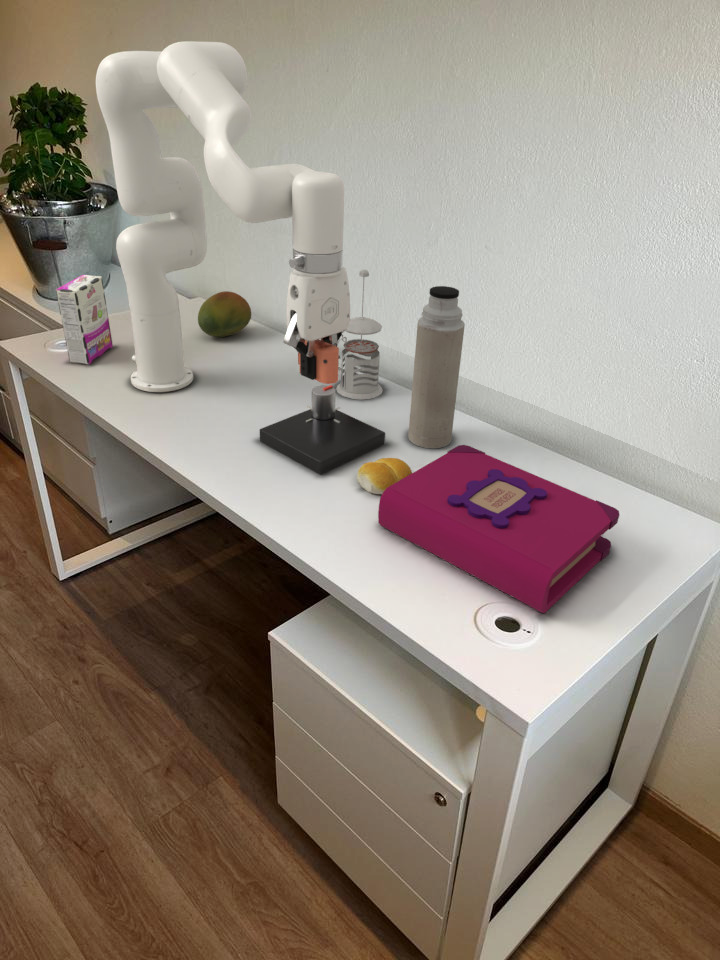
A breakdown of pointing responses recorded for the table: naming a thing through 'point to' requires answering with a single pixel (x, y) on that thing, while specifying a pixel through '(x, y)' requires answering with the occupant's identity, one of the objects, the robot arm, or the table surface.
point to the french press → (360, 359)
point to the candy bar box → (84, 318)
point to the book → (500, 524)
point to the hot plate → (322, 439)
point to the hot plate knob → (323, 402)
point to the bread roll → (382, 474)
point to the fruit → (224, 314)
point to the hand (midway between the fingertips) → (317, 372)
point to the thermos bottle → (436, 369)
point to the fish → (325, 361)
